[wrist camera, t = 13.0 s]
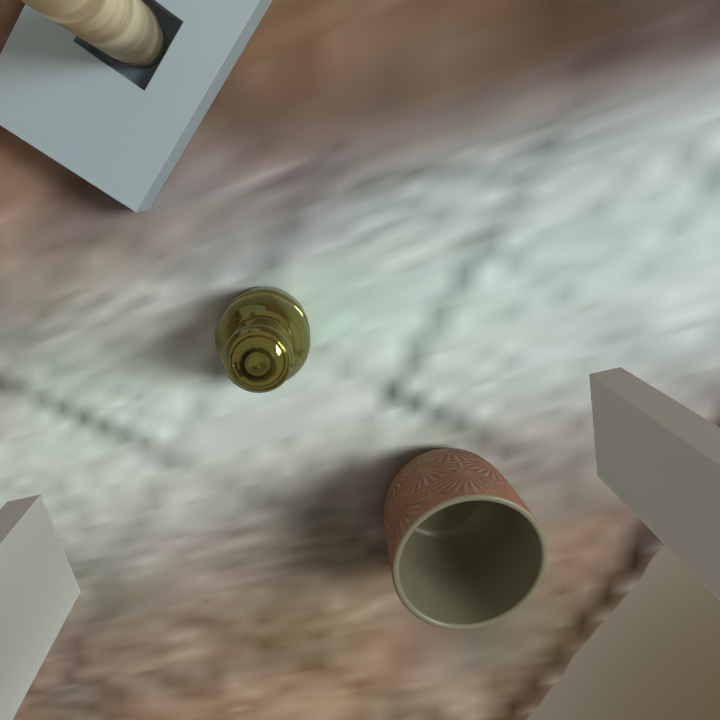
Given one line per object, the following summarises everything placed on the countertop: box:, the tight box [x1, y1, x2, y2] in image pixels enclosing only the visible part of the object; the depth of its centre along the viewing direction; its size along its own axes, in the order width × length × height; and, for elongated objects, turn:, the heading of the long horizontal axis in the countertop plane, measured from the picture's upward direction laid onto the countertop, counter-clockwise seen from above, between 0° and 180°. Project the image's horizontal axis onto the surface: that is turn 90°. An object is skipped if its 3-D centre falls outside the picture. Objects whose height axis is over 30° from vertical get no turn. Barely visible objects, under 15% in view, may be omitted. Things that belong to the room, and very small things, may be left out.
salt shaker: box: [215, 286, 310, 393], centre depth 46 cm, size 7×7×10 cm
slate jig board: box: [0, 0, 273, 212], centre depth 41 cm, size 20×12×4 cm, turn 145°
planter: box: [384, 448, 548, 630], centre depth 51 cm, size 12×12×11 cm
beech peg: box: [21, 0, 166, 68], centre depth 35 cm, size 4×4×16 cm
